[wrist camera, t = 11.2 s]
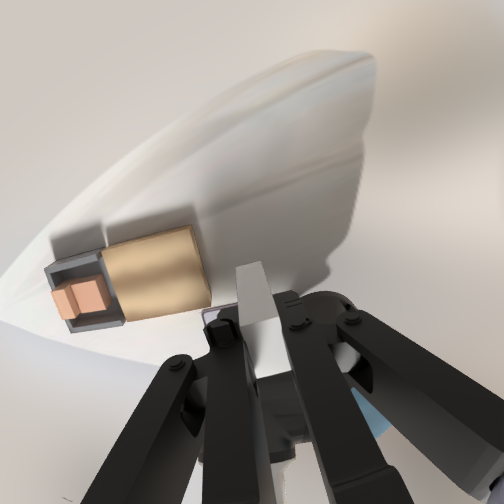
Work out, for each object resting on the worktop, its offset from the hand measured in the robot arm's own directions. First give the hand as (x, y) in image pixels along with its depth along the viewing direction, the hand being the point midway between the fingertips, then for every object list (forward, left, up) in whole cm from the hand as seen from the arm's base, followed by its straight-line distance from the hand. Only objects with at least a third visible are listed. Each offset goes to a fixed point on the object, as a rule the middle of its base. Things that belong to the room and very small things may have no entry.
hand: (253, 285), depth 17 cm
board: (-6, +14, -26) cm, 30 cm away
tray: (-6, +27, -26) cm, 38 cm away
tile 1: (-6, +29, -23) cm, 37 cm away
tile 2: (-6, +26, -26) cm, 37 cm away
